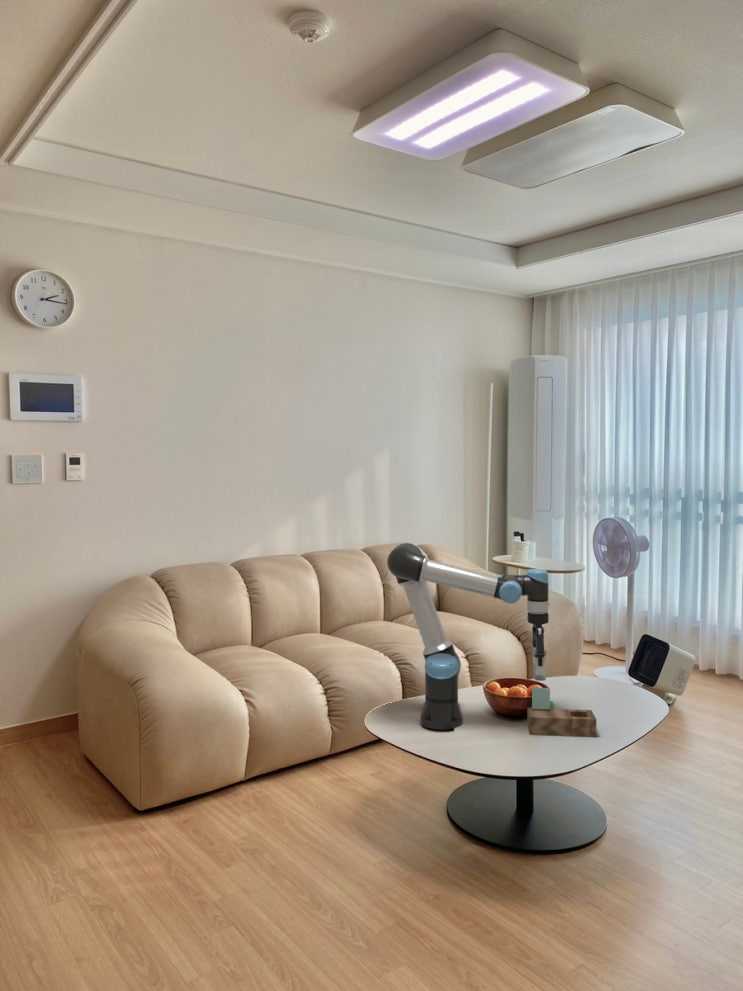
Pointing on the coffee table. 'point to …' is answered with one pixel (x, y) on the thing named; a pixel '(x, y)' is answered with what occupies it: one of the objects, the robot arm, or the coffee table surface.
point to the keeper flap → (540, 699)
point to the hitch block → (561, 722)
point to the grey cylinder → (543, 677)
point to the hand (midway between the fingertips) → (538, 669)
